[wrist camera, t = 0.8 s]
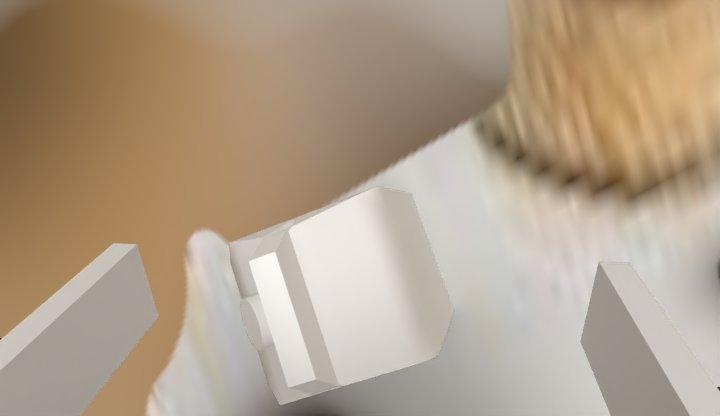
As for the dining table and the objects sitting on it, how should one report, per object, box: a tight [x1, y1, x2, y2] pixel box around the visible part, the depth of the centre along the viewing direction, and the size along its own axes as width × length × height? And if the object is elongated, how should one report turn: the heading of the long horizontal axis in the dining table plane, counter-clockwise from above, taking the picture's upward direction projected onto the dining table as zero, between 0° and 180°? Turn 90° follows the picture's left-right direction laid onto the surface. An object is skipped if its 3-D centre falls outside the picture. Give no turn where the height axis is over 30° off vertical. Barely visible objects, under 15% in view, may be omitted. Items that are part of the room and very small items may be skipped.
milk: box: [229, 187, 454, 405], centre depth 33 cm, size 12×12×26 cm
